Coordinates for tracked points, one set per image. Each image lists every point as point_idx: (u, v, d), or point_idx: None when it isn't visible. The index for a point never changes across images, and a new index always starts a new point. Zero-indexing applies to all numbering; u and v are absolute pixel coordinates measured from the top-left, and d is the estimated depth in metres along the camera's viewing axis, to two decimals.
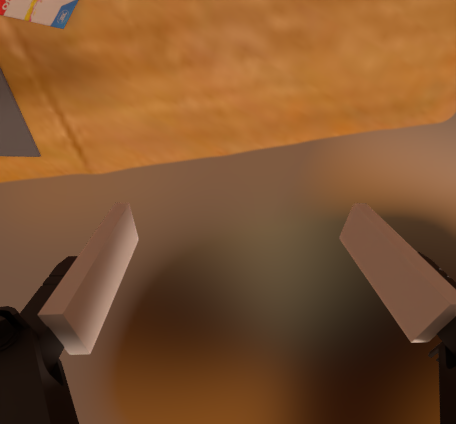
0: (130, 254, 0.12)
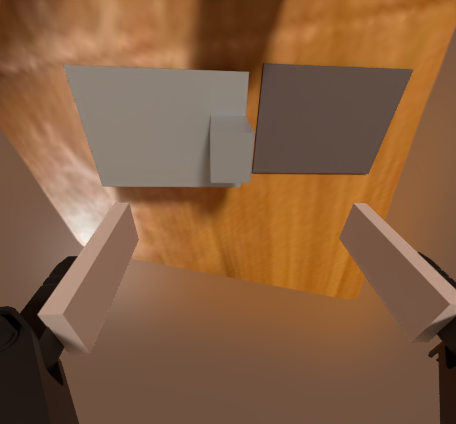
0: (130, 254, 0.12)
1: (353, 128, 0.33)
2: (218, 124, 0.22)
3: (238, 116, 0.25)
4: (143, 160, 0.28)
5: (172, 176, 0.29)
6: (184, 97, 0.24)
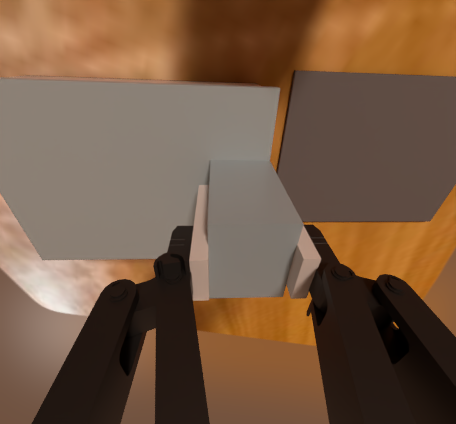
0: None
1: (419, 164, 0.23)
2: (224, 190, 0.11)
3: (257, 162, 0.15)
4: (102, 225, 0.17)
5: (150, 245, 0.19)
6: (163, 131, 0.14)
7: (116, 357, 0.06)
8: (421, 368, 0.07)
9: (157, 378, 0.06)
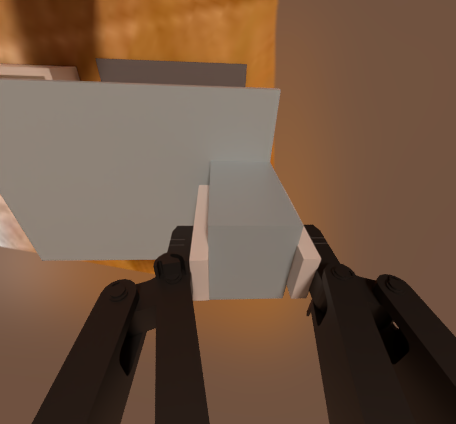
0: None
1: None
2: (224, 191, 0.11)
3: (257, 163, 0.15)
4: (101, 226, 0.17)
5: (150, 246, 0.19)
6: (164, 133, 0.14)
7: (116, 357, 0.06)
8: (421, 368, 0.07)
9: (157, 378, 0.06)
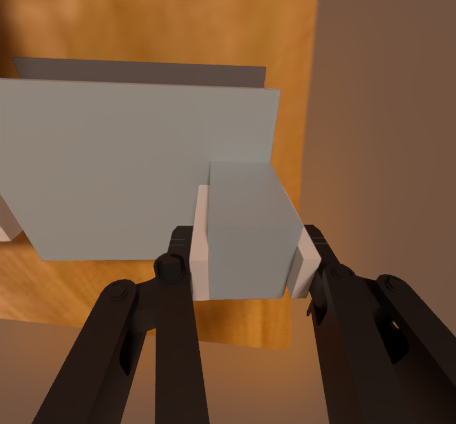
0: None
1: None
2: (224, 192, 0.11)
3: (257, 163, 0.15)
4: (101, 226, 0.17)
5: (150, 246, 0.19)
6: (164, 133, 0.14)
7: (116, 357, 0.06)
8: (421, 368, 0.07)
9: (157, 378, 0.06)
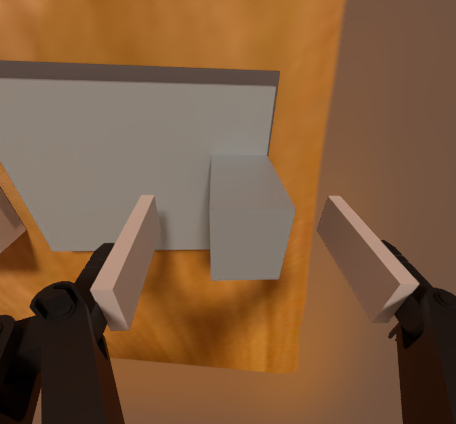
0: (155, 243, 0.13)
1: None
2: (224, 181, 0.12)
3: (255, 156, 0.16)
4: (109, 218, 0.18)
5: None
6: (168, 128, 0.15)
7: None
8: None
9: None
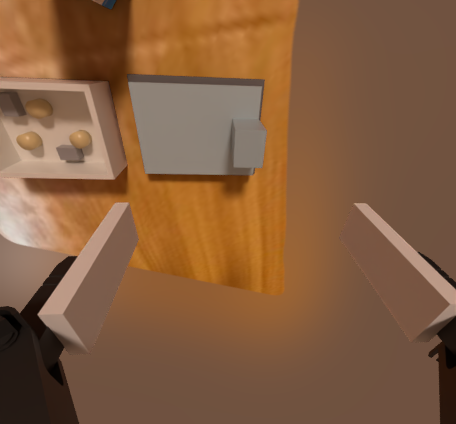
0: (130, 254, 0.12)
1: None
2: (239, 124, 0.30)
3: (253, 119, 0.33)
4: (178, 153, 0.36)
5: (200, 165, 0.38)
6: (213, 105, 0.33)
7: None
8: None
9: None
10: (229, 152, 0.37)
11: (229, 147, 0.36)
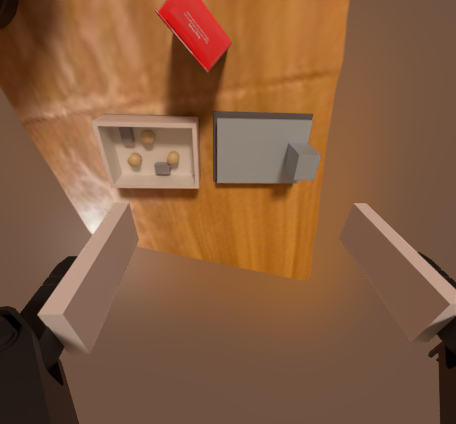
0: (130, 254, 0.12)
1: None
2: (298, 149, 0.42)
3: (304, 143, 0.45)
4: (245, 167, 0.48)
5: (259, 176, 0.49)
6: (276, 133, 0.44)
7: None
8: None
9: None
10: (283, 166, 0.48)
11: (283, 163, 0.48)
